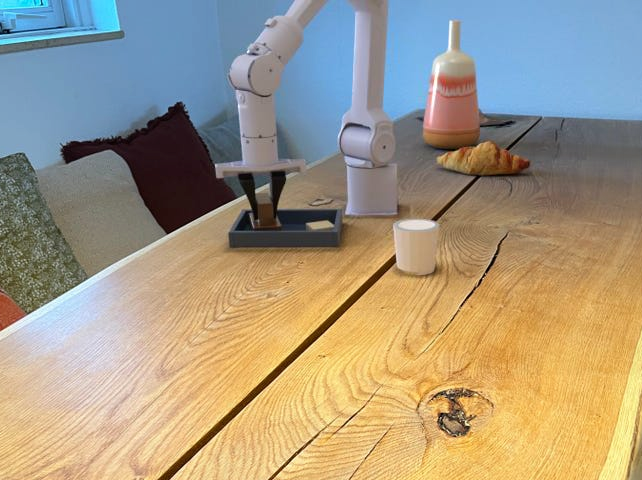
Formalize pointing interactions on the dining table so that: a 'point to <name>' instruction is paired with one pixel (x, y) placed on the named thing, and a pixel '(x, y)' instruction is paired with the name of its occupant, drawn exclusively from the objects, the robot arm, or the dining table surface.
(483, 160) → the croissant
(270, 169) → the robot arm
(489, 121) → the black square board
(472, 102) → the vase
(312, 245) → the tray
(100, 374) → the dining table surface
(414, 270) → the shot glass
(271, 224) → the stepped wooden pedestal
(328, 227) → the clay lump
